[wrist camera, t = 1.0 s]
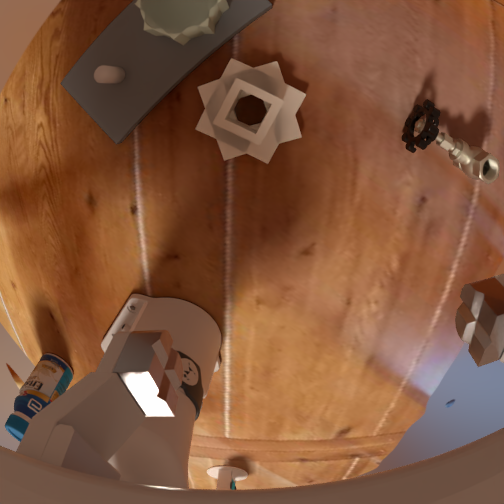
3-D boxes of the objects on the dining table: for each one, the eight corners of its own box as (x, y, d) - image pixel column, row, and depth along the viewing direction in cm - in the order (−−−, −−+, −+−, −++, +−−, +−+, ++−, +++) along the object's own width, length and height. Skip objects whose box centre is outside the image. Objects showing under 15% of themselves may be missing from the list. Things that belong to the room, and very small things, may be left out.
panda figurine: (250, 481, 76) (247, 524, 62) (212, 479, 77) (206, 522, 63) (245, 466, 70) (241, 514, 57) (203, 464, 71) (196, 511, 58)
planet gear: (274, 182, 37) (275, 194, 33) (177, 135, 35) (164, 141, 31) (326, 89, 32) (336, 88, 28) (225, 39, 30) (219, 30, 25)
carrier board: (121, 142, 35) (101, 150, 31) (66, 83, 32) (41, 84, 27) (272, 8, 28) (272, -7, 23) (204, -50, 24) (195, -69, 19)
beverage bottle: (59, 380, 58) (24, 448, 41) (36, 354, 55) (-6, 421, 37) (81, 377, 57) (45, 451, 39) (56, 348, 53) (12, 423, 35)
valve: (480, 143, 33) (414, 98, 32) (509, 154, 27) (441, 100, 26) (462, 184, 36) (395, 144, 34) (489, 200, 30) (418, 154, 29)
